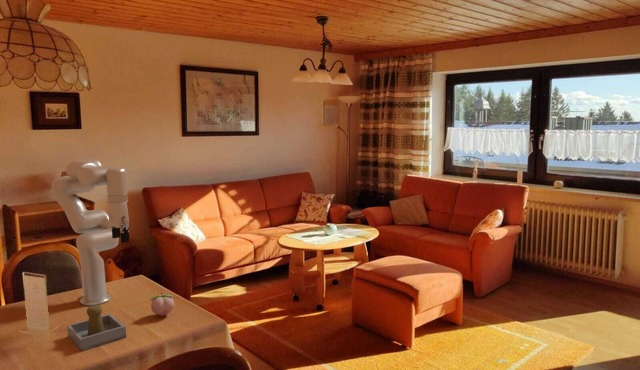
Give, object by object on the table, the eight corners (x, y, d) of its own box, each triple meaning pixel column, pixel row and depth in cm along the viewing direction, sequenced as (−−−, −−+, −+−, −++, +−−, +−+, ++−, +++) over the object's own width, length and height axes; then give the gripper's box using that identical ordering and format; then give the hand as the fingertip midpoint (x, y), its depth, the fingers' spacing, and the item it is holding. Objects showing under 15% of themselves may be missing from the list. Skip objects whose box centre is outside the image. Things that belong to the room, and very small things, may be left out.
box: (68, 336, 190) (66, 325, 190) (111, 324, 201) (110, 313, 200) (81, 351, 178) (80, 339, 178) (126, 337, 189) (125, 326, 188)
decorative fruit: (172, 310, 215) (171, 287, 213) (176, 317, 207) (175, 293, 206) (149, 314, 210) (148, 291, 209) (152, 321, 203) (151, 297, 202)
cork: (98, 338, 186) (96, 310, 185) (84, 337, 188) (81, 309, 186) (108, 331, 192) (106, 303, 191) (94, 330, 193) (92, 302, 192)
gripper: (100, 197, 206) (104, 237, 209) (116, 202, 193) (119, 245, 196) (119, 194, 211) (122, 234, 214) (135, 200, 198) (138, 242, 201)
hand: (120, 239), depth 205 cm, fingers open, 9 cm apart
